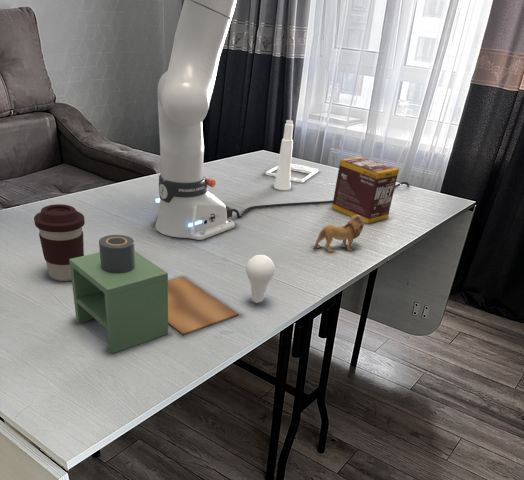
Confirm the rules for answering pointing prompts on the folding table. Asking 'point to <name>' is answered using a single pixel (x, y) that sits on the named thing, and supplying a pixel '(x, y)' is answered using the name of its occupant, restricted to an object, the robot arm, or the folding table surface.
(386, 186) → the supplement box
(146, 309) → the shelf
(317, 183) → the folding table surface
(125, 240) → the tape roll
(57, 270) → the coffee cup
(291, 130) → the white tapered tower
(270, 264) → the lightbulb
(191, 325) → the copper sheet
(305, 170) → the photo frame
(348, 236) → the lion figurine
